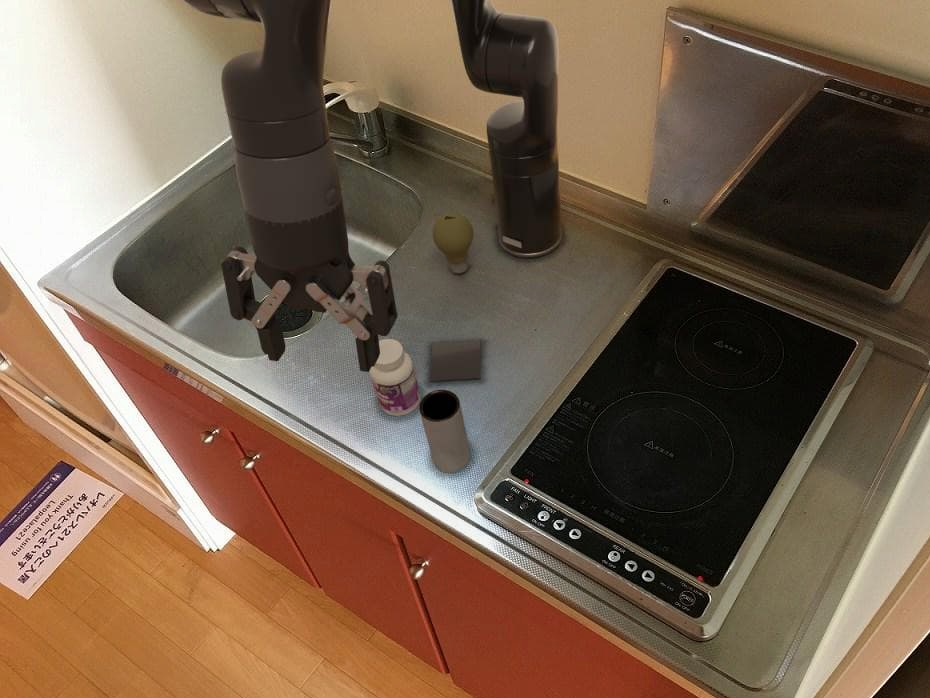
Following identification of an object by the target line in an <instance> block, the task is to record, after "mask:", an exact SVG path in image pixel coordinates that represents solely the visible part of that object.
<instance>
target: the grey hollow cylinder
mask: <svg viewBox="0 0 930 698" xmlns="http://www.w3.org/2000/svg"><path fill="white" fill-rule="evenodd" d="M418 411H419V415H420V419H421V422H422V426H423V429H424V433H425V436H426V441H427V444H428V447H429V452H430V455H431V459H432V461H433V464H434V467H436V469H438V470H439V471H440V472H443V473H445V474H455V473H458V472H461V471H463V470H464V469H465V468H466V467H467V466H468V464H469V463H470V460H471V455H472V454H471V447H470V445H469V444H470V443H469V439H468V435H467V430H466V426H465V425H466V424H465V419H464V415H463V410H462V405H461V402H460V398H459V396H458V395H457V394H456V393H455V392H453V391H451V390H449V389H435V390H432V391H430V392H428V393H427V394H425V395H424V396H423V397H422V398H421V399H420V402H419V404H418Z"/></svg>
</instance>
